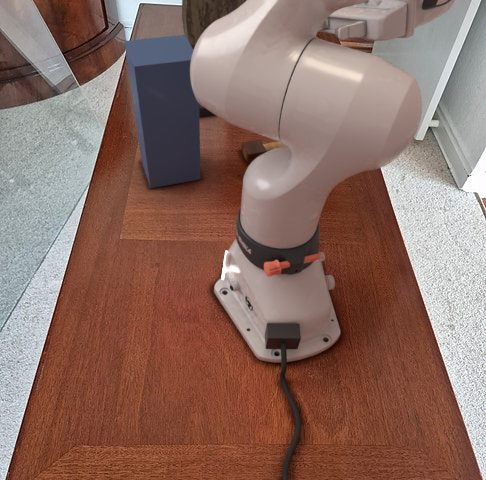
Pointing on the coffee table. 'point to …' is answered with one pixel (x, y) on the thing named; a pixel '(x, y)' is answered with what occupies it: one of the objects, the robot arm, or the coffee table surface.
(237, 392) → the coffee table surface
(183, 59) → the pedestal
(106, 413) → the coffee table surface
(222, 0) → the tabletop clock
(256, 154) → the wooden mallet
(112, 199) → the coffee table surface
